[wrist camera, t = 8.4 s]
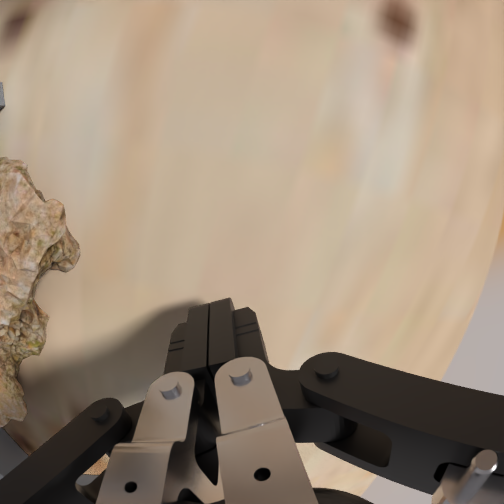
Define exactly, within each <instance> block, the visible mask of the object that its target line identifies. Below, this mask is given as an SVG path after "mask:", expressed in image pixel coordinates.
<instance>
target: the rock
mask: <svg viewBox="0 0 504 504" xmlns="http://www.w3.org/2000/svg"><path fill="white" fill-rule="evenodd" d="M27 166H28V165H27V164H25V163H24V162H23V161H21V160H9V159H8V158H7V157H2V158H0V427H4V426H5V425H6V424H8V422H9V421H10V420H11V419H13V420H17V421H20V422H22V421H23V419H24V418H25V416H26V415H27V414H28V413H27V407H26V404H25V402H24V400H23V396H24V393H23V390H22V386H21V385H20V384H19V382H18V381H17V375H18V371H19V364H20V363H21V362H22V359H25V358H27V357H29V356H31V355H40V353H41V350H42V349H43V347H44V344H45V342H46V325H47V322H48V320H49V316H48V315H47V314H45V313H44V312H43V311H42V310H41V309H40V308H39V307H38V305H37V304H36V302H35V301H34V299H33V298H34V294H35V289H36V285H37V283H38V281H39V278H40V276H41V275H42V274H43V273H44V272H45V271H47V270H48V269H49V268H50V269H59V270H61V271H64V272H68V271H70V270H71V269H73V268H74V267H75V265H76V263H77V262H78V259H79V257H80V248H79V244H78V242H77V241H76V240H75V239H74V237H73V236H72V235H71V234H70V232H69V230H68V228H67V226H66V215H65V210H64V205H63V204H62V203H61V202H59V201H58V200H55V199H51V200H48V201H45V199H44V197H43V195H42V192H41V191H39V190H36V188H35V186H34V184H33V182H32V180H31V178H30V176H29V174H28V172H27Z"/></svg>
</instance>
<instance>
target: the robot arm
mask: <svg viewBox="0 0 504 504" xmlns="http://www.w3.org/2000/svg"><path fill="white" fill-rule="evenodd" d="M168 351H169V352H168V355H167V360H166V365H165V370H164V375H163V376H161V377H159V378H158V379H156V380H155V381H154V382H153V383H152V384H151V385H150V387H149V389H148V391H147V394H146V398H145V400H144V401H142V402H140V403H137V404H134V405H132V406H129V407H127V408H124V407H123V406H122V404H121V403H120V402H119V401H118V400H116V399H114V398H104V399H101V400H98V401H96V402H94V403H93V404H91V405H90V406H89V407H88V408H86V409H85V410H84V411H83V412H82V413H80V414H79V415H78V416H77V417H76V418H74V419H73V420H72V421H71V422H70V423H68V424H67V425H66V426H65V427H64V428H62V429H61V430H60V431H59V432H58V433H56V434H55V435H54V436H53V437H52V438H50V439H49V440H48V441H47V442H46V443H44V444H43V445H42V446H41V447H40V448H38V449H37V450H36V451H35V452H34V453H32V454H31V455H30V456H29V457H27V458H26V459H25V460H24V461H23V462H21V463H20V464H19V465H18V466H16V467H15V468H14V469H13V470H12V471H10V472H9V473H8V474H7V475H5V476H4V477H3V478H2V479H1V480H0V504H373V503H371V502H369V501H367V500H365V499H363V498H361V497H359V496H356V495H353V494H350V493H348V492H344V491H339V490H335V489H327V488H312V485H311V483H310V480H309V478H308V475H307V472H306V470H305V467H304V465H303V462H302V459H301V457H300V454H299V452H298V449H297V446H296V444H295V443H313V442H314V444H315V445H316V446H317V447H318V448H320V449H321V450H323V451H325V452H327V453H329V454H332V455H334V456H336V457H338V458H340V459H342V460H344V461H346V462H349V463H351V464H353V465H355V466H357V467H360V468H362V469H364V470H367V471H369V472H371V473H374V474H376V475H379V476H381V477H384V478H386V479H389V480H391V481H394V482H397V483H399V484H402V485H405V486H408V487H410V488H413V489H416V490H419V491H422V492H425V493H428V494H431V495H433V496H432V504H504V396H503V395H498V394H493V393H488V392H483V391H479V390H474V389H469V388H465V387H461V386H457V385H452V384H449V383H444V382H441V381H437V380H433V379H429V378H425V377H421V376H418V375H414V374H410V373H406V372H403V371H399V370H396V369H392V368H389V367H385V366H382V365H378V364H375V363H372V362H368V361H365V360H362V359H358V358H355V357H352V356H349V355H345V354H342V353H338V352H326V353H321V354H318V355H315V356H313V357H311V358H310V359H308V360H307V361H306V362H304V363H303V365H302V366H301V368H300V370H281V369H277V368H275V367H273V366H271V365H270V364H269V361H268V357H267V352H266V348H265V344H264V341H263V338H262V334H261V331H260V327H259V324H258V320H257V317H256V313H255V312H254V311H252V310H251V309H250V308H249V307H246V308H242V309H238V310H235V309H234V306H233V303H232V300H231V298H226V299H222V300H218V301H215V302H211V303H207V304H203V305H199V306H195V307H191V308H189V313H188V320H187V323H182V324H179V325H178V326H177V328H176V329H175V330H174V331H173V333H172V335H171V340H170V345H169V350H168ZM105 453H106V454H107V455H108V456H109V457H110V459H109V462H108V465H107V468H106V469H105V470H104V471H103V472H102V473H101V474H100V475H99V476H98V477H96V478H95V479H94V480H93V481H92V482H91V483H90V484H88V485H85V486H82V485H79V484H77V483H76V481H77V479H78V478H79V477H80V476H81V475H82V474H83V473H84V472H85V471H87V470H88V469H89V468H90V467H91V466H92V465H93V464H94V463H96V462H97V461H98V460H99V459H100V458H101V457H102V456H103V455H104V454H105Z"/></svg>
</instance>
